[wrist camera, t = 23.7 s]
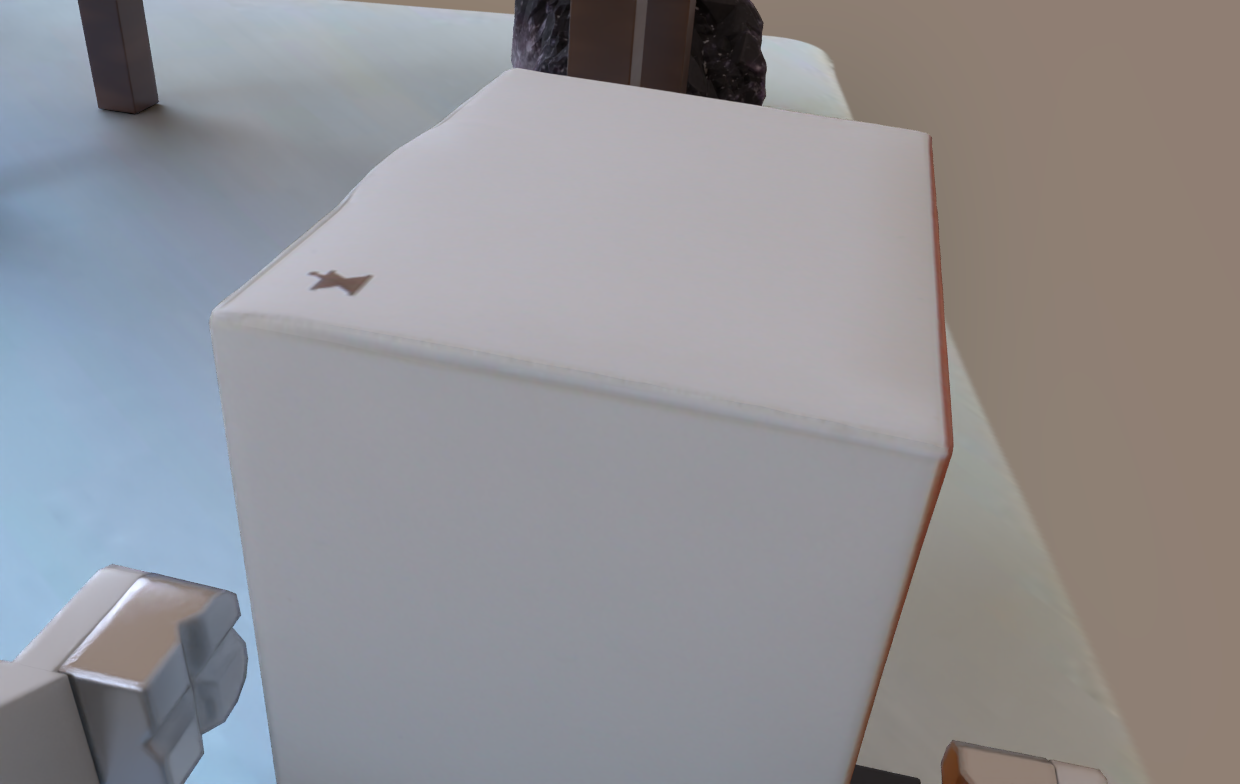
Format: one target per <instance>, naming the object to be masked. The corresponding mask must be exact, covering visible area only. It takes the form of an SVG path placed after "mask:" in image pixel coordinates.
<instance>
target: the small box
mask: <svg viewBox="0 0 1240 784" xmlns="http://www.w3.org/2000/svg"><path fill="white" fill-rule="evenodd" d="M933 167H934V166H933V153H932V137H931V136H930V135H929V134H928V133H924V132H919V131H915V130H910V129H904V128H897V127H891V126H884V125H878V124H872V123H866V122H859V121H853V120H846V119H839V118H832V117H825V116H818V115H813V114H807V113H801V112H795V111H787V110H781V109H776V108H770V107H764V106H758V105H752V104H745V103H739V102H732V101H726V100H720V99H713V98H707V97H701V96H694V95H688V94H681V93H675V92H669V91H662V90H656V89H649V88H643V87H636V86H629V85H622V84H616V83H609V82H602V81H596V80H589V79H582V78H576V77H569V76H562V75H556V74H549V73H543V72H537V71H532V70H527V69H521V68H514V69H508V70H506V71H505V72H504V73H502V74H501V75H499V76H498V77H497V78H496V79H494V80H493V81H492V82H490V83H489V84H488V85H486V86H485V87H483V88H482V89H481V90H480V91H478V92H477V93H476V94H475V95H473V96H472V97H471V98H469V99H468V100H467V101H465V102H464V103H463V104H461V105H460V106H459V107H458V108H456V109H455V110H454V111H453V112H451V113H450V114H449V115H448V116H447V117H445V118H444V119H443V120H442V121H440V122H439V123H438V124H436V125H435V126H434V127H432V128H431V129H429V130H427V131H426V132H424V133H422V134H421V135H419V136H417V137H416V138H414V139H413V140H411V141H409V142H408V143H406V144H405V145H403V146H401V147H400V148H398V149H397V150H395V151H394V152H392V153H391V154H390V155H389V156H387V157H386V158H385V159H384V160H382V161H381V162H380V163H379V164H377V165H376V166H375V167H374V168H373V169H372V170H371V171H370V172H369V173H368V174H367V175H366V176H365V177H364V179H362V180H361V181H360V182H359V183H358V184H357V185H356V186H355V187H354V188H353V189H352V190H351V191H350V193H349V194H348V195H347V196H346V197H345V198H344V199H343V200H342V201H341V202H340V203H339V204H338V205H337V206H336V207H335V208H334V209H333V210H332V211H331V212H330V213H328V214H327V215H326V216H324V217H323V218H322V219H320V220H319V221H318V222H317V223H316V224H315V225H314V226H312V227H311V228H310V229H309V230H308V231H307V232H306V233H304V234H303V235H302V236H301V237H299V238H298V239H297V240H296V241H294V242H293V243H292V244H291V245H289V246H288V247H287V248H286V249H285V250H284V251H283V252H281V253H280V254H279V255H278V256H277V257H276V258H275V259H274V260H273V261H271V262H270V263H269V264H268V265H267V266H266V267H264V268H263V269H262V270H261V271H260V272H258V273H257V274H256V275H255V276H254V277H252V278H251V279H250V280H249V281H247V282H246V283H245V284H244V285H243V286H241V287H240V288H239V289H237V290H236V291H235V292H233V293H232V294H231V295H229V296H228V297H227V298H225V299H224V300H223V301H221V302H220V303H219V304H218V305H217V306H216V307H215V308H214V309H213V310H212V313H211V316H210V321H209V326H210V332H211V339H212V346H213V353H214V359H215V366H216V373H217V379H218V386H219V393H220V400H221V406H222V413H223V420H224V427H225V434H226V441H227V447H228V454H229V461H230V468H231V475H232V481H233V488H234V495H235V502H236V508H237V515H238V522H239V529H240V536H241V542H242V549H243V556H244V563H245V569H246V576H247V583H248V590H249V596H250V603H251V610H252V617H253V623H254V630H255V637H256V644H257V651H258V658H259V664H260V671H261V678H262V685H263V692H264V699H265V705H266V712H267V719H268V726H269V733H270V740H271V747H272V754H273V762H274V769H275V775H276V781H277V784H850V781H851V778H852V774H853V771H854V767H855V764H856V761H857V757H858V754H859V750H860V747H861V744H862V740H863V737H864V733H865V730H866V727H867V723H868V720H869V717H870V713H871V710H872V706H873V703H874V700H875V696H876V693H877V689H878V686H879V683H880V679H881V676H882V673H883V670H884V667H885V663H886V660H887V657H888V654H889V650H890V647H891V644H892V641H893V638H894V634H895V631H896V628H897V625H898V621H899V618H900V615H901V612H902V608H903V605H904V602H905V599H906V596H907V592H908V589H909V586H910V583H911V579H912V576H913V573H914V570H915V567H916V563H917V560H918V557H919V554H920V551H921V548H922V545H923V542H924V538H925V535H926V532H927V529H928V526H929V523H930V520H931V517H932V514H933V511H934V508H935V505H936V502H937V499H938V496H939V493H940V490H941V487H942V484H943V481H944V478H945V474H946V471H947V468H948V465H949V462H950V459H951V456H952V452H953V429H952V413H951V398H950V383H949V370H948V356H947V344H946V331H945V319H944V301H943V287H942V275H941V257H940V245H939V224H938V212H937V206H936V190H935V179H934V168H933Z"/></svg>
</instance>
